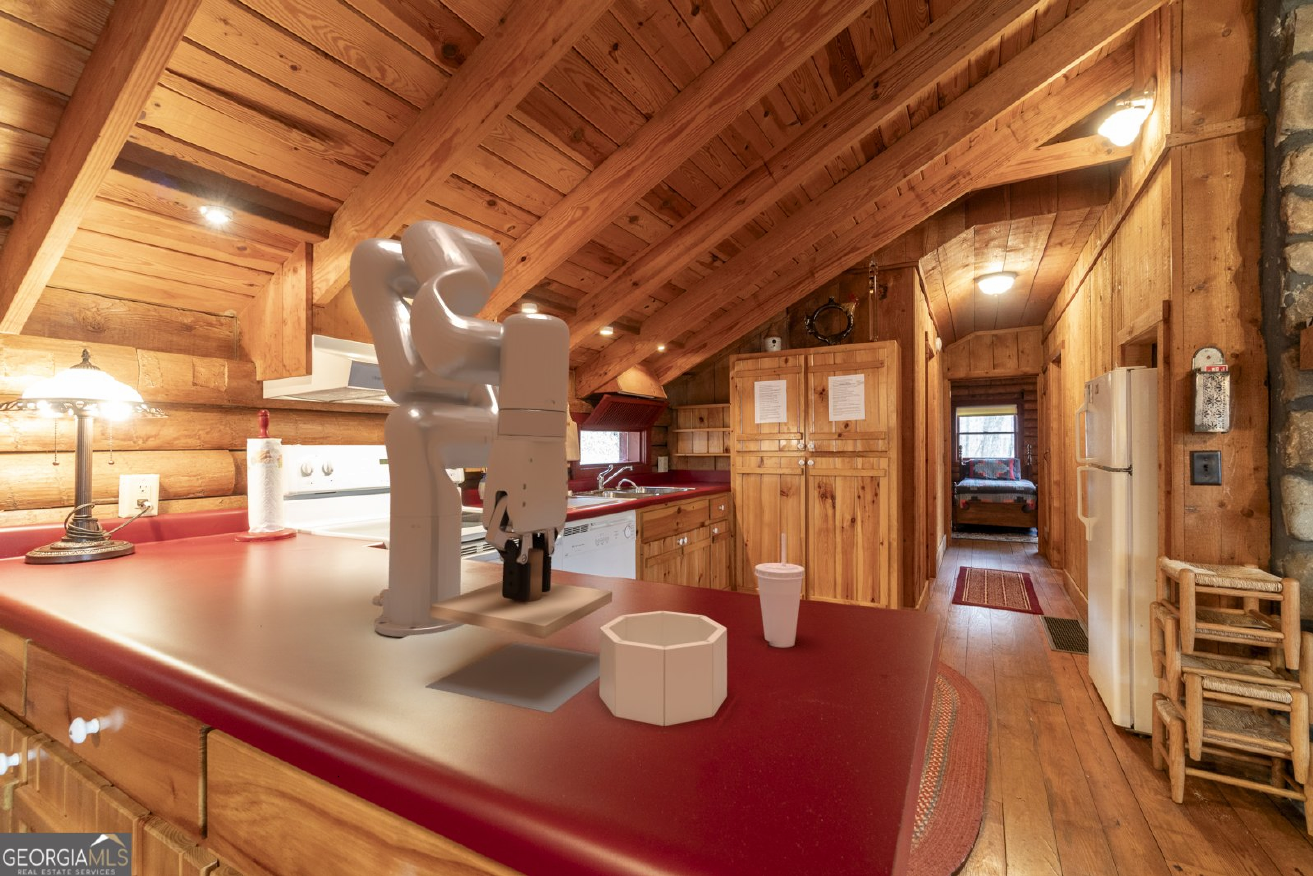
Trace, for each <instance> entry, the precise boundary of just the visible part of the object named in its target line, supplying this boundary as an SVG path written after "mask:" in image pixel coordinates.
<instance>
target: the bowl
mask: <svg viewBox="0 0 1313 876" xmlns="http://www.w3.org/2000/svg"><path fill="white" fill-rule="evenodd" d="M727 631H728V628H727V627H726V626H724V625H722V624H720V623H718V622H717V621H715V620H713V619H711V618H710V617H708V616H706V615H702V614H693V613H687V612H686V613H684V612H676V611H675V612H674V611H670V610H669V611H666V610H657V611H649V612H641V613H639V612H638V613H631V614H622V615H619V616H617V617H616V618H614V619H612V620H611V621H609V622H607V623H605V624H604V625H602V626H600V627H599V655H600V677H599V694H598V695H599V697H600V699H601V700H602V701H603V703H604V704H605V705H606V707H607V708H608V709H609V711H610V712H611V713H612V714H613V717H614V716H615V717H616V718H621V719H626V720H632V721H637V722H641V723H647V724H652V725H657V726H661V727H663V726H665V727H666V726H673V725H677V724H683V723H688V722H692V721H693V722H694V721H698V720H703V719H707V718H713V717H714V716H715V715H716V713H717V712H718V710H719V709H720V707H721V705H723V703H724V701H725V700H726V698H727V697H728V689H727V688H728V657H727V656H728V632H727Z"/></svg>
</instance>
